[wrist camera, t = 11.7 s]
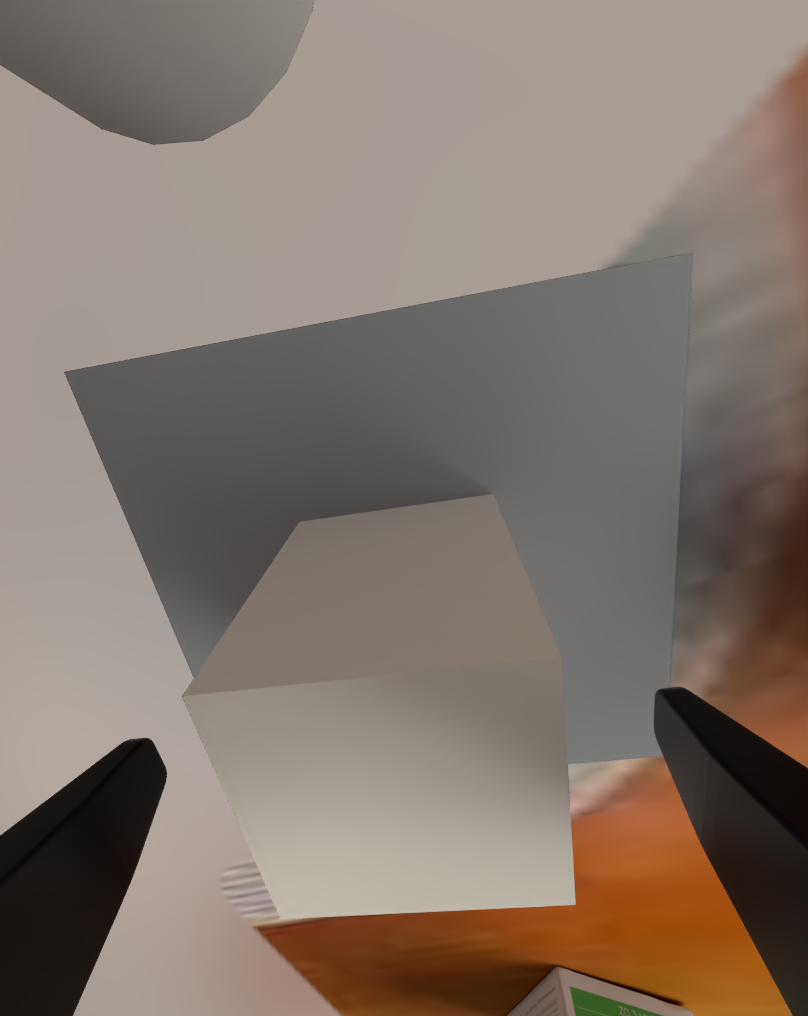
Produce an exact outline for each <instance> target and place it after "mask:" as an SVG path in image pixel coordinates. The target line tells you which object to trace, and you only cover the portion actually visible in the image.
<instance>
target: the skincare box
mask: <svg viewBox="0 0 808 1016" xmlns="http://www.w3.org/2000/svg"><path fill="white" fill-rule="evenodd" d="M507 1016H694V1015H693V1014H692V1012H691V1011H690V1010H689V1009H687V1008H684V1007H681V1006H677V1005H674V1004H669V1003H667V1002H664V1001H661V1000H659V999H656V998H653V997H650V996H647V995H644V994H641V993H638V992H634V991H631V990H628V989H625V988H622V987H619V986H616V985H612V984H609V983H606V982H603V981H600V980H597V979H594V978H591V977H588V976H585V975H582V974H579V973H576V972H573V971H571V970H568V969H565V968H562V967H555V968H554V969H553V970H552V971H551V972H550V973H549V974H548V975H547V976H546V977H545V978H544V979H543V980H542V981H541V982H540V983H539V984H538V986H537V987H536V988H535V989H534V990H533V991H532V992H531V993H530V994H528V995H527V996H526V997H525V998H524V999H523V1000H522V1001H521V1002H520V1003H519V1004H518V1005H517V1006H516V1007H515V1008H514V1009H513V1010H512V1011H511V1012H510V1013H509V1014H508V1015H507Z"/></svg>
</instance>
